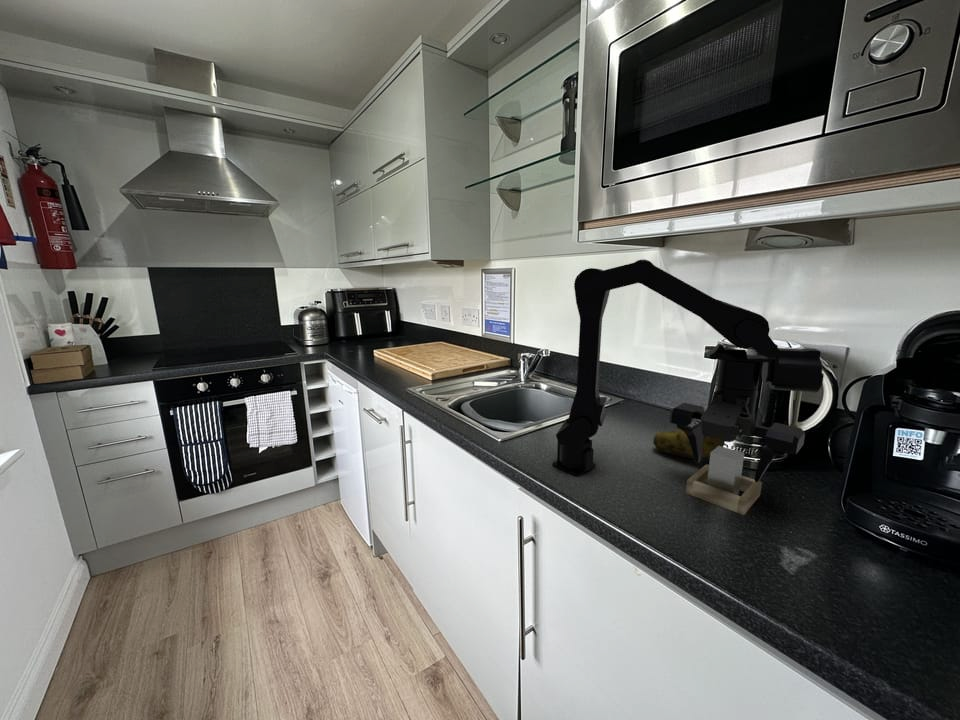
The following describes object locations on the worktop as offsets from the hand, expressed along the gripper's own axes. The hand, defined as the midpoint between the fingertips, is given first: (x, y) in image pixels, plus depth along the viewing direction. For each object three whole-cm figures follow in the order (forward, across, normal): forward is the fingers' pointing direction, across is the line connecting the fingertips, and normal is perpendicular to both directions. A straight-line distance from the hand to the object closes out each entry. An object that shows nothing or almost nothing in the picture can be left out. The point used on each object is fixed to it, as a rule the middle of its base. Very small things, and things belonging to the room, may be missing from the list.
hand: (725, 471), depth 68 cm
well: (+4, 0, 0) cm, 4 cm away
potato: (+5, -10, +10) cm, 15 cm away
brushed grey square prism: (+4, 0, 0) cm, 5 cm away
